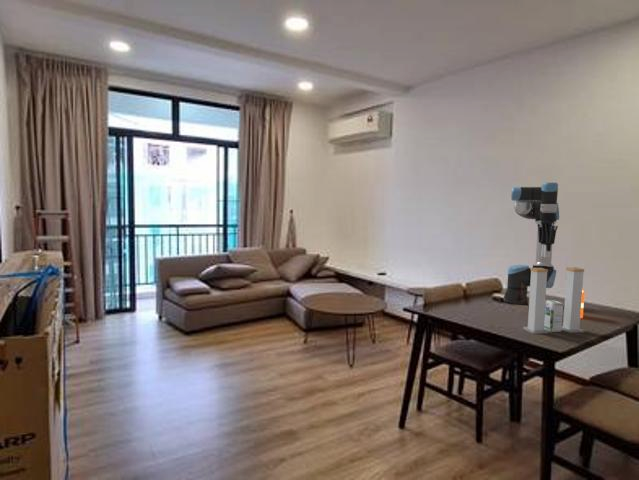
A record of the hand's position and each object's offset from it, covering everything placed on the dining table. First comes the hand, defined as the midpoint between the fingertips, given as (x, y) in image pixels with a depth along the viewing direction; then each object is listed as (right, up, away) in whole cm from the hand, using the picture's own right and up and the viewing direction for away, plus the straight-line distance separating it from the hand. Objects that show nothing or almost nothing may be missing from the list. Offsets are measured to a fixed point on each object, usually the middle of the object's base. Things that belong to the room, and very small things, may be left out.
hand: (545, 256), depth 222 cm
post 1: (-13, -36, -15) cm, 41 cm away
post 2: (+6, -36, -13) cm, 39 cm away
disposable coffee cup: (+2, -33, +15) cm, 37 cm away
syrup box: (-4, -36, -14) cm, 39 cm away
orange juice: (+23, -34, +13) cm, 43 cm away
